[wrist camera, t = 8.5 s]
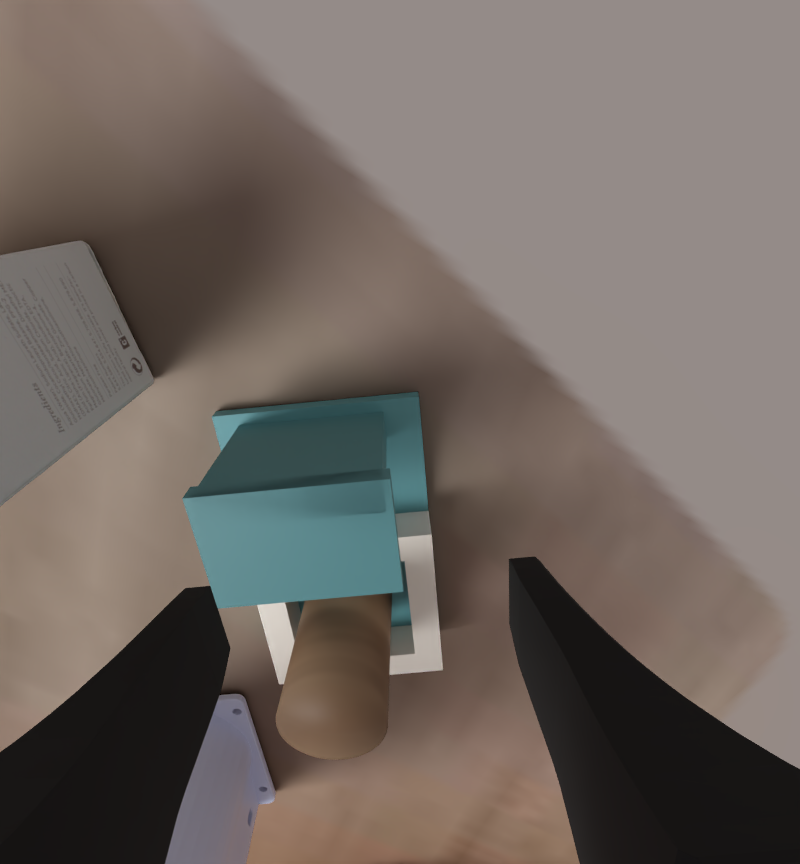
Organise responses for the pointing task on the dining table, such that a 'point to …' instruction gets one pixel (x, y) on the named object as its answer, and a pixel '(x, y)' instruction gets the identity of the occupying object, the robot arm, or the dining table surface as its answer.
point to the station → (322, 518)
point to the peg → (338, 678)
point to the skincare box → (59, 358)
